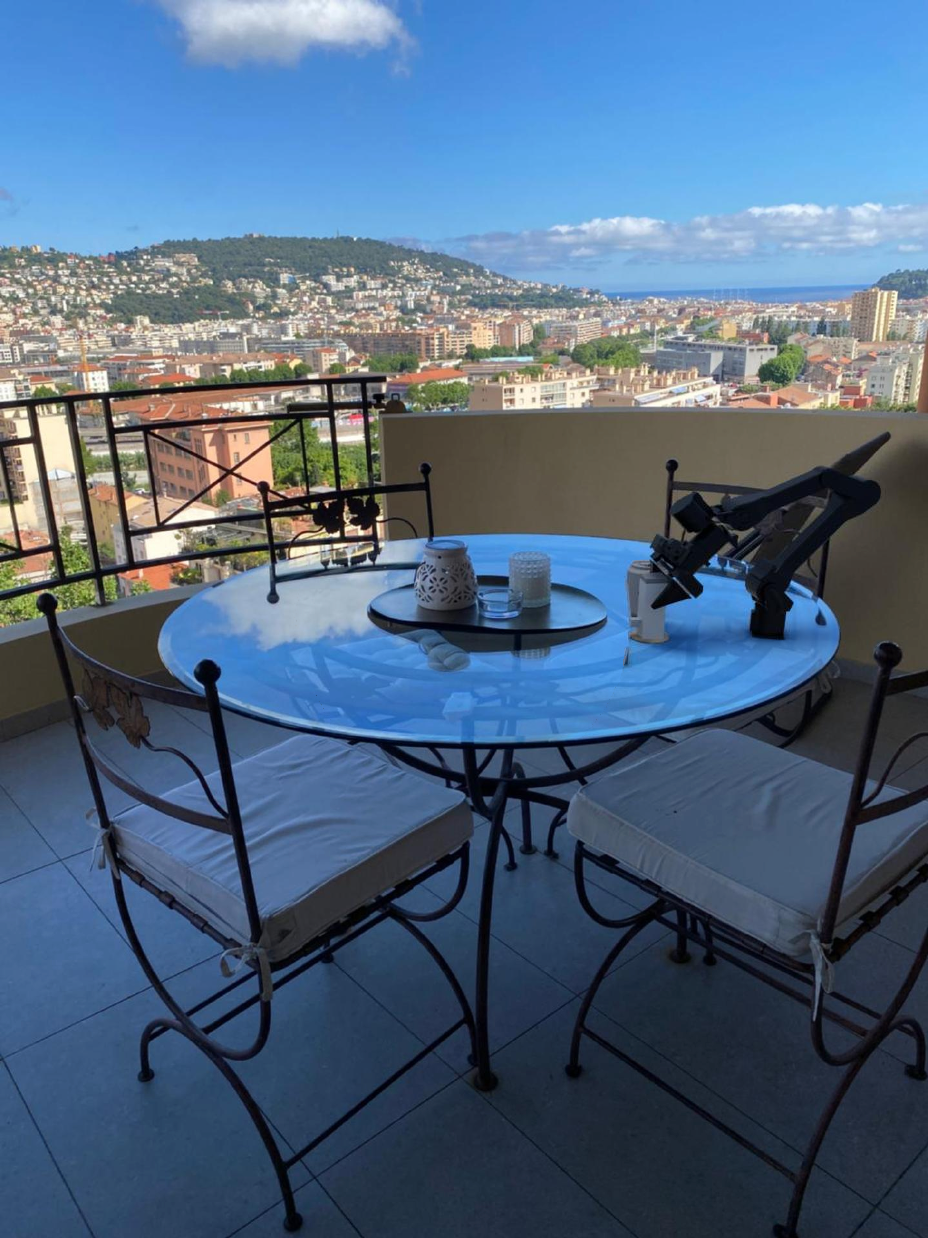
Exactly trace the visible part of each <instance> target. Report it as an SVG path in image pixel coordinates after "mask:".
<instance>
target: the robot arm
mask: <svg viewBox="0 0 928 1238" xmlns="http://www.w3.org/2000/svg"><path fill="white" fill-rule="evenodd" d="M824 489H827V490H829V491H832V494H831V496H830V499H829V501H828V503H827V506H826V507H825V508H824V510H823V511H821V513H820V514H819V515H817V516H816V518H814V520H813V521H812V522H811V523H810V524H808V526H807V527H806V528H804V529H803V530H802V531H801V533H799V535H797V536H796V537H795V538H794V539H793V541H791V543H789V544H788V545H787V546H786V547H785V548H784V549H783V550H782V551H781V552H780V554H778V555H777V556H776V557H774V558H772V559H770V560H768V559H767V558H765V557H761V558H759V559H758V561H757V563H756V564H755V565H754V566H753V567H751V568H750V569H748V570H747V572H748V574H747V575H746V577H745V579H744V587H745V590H746V591H747V593H748V594H750V596H751V600H752V601H753V602H754V606H753V607H754V608H752V609H751V610H750V615H749V623H748V624H749V625H748V628H749V629H748V630H749V632H750V633H751V636H752V637H754V638H755V637H756V638H765V639H766V638H767V639H778V640H784V639H785V638H786V636H785V627H786V621H787V619H786V618H787V612H791V609H792V608H793V606H794V603H795V602H794V601H793V600H792V598H790V596H789V595H788V594H787V593H786V591H787V590H788V589H789V587H790V585H791V582H792V580H793V578H794V574H795V573H796V572H797V571H798V570H799V569H800V567H801V566H803V565H804V564H805V563H806V562H807V561H808V560H809V559H810V558H811V557H812V556H813V555H814V554H815V553H816V552H817V551H818V550H819V549H820V548H821V547H822V546H823V545H824V544H825V543H826V542H827V541H828V540H829V539H830V538H831V537H832V536H833V535H834V534H835V533H836V532H837V531H838V530H840V528H842V527H843V525H844V524H845V523H846V522H849V521H850V520H853V519H856V518H858V517H860V516H862V515H864V514H865V513H867V511H869V510H870V509H872V508H873V507H875V506H876V505H877V504H878V503H879V501H881V498H882V495H881V494H882V489H881V486H880V484H879V483H878V482H877V481H876V480H872V479H869V478H865V477H862V476H858V475H856V474H855V475H847V474H844V473H842V472H839V471H836V470H835V469H834V468H832V467H830V466H829V467H828V466H824V465H818V466H817V465H816V466H815V467H814V468H813V469H811V470H809V471H806V472H804V473H803V474H800V475H797V476H795V477H793V478H790V479H789V480H786V481H784V482H782V483H780V484H776V485H775V486H772V487H770V488H768V489H766V490H764V491H761V492H757V493H751V494H742V495H739V496H736V497H735V496H734V497H732V498H727V500H725V501H723V503H721V504H715V505H709V504H708V503H707V502H706V501H705V500H704V498H703V496H702V495H701V494H700V492H698V491H697V490H693V491H692V492H691V493H690V494H689V493H688V494H687V495H684V496H682V497H681V498H680V499H677V500H676V501H675V502H674V503H673V505H671V507H670V509H669V516H671V517H672V518H673V519H674V520H675V521H676V522H677V523H678V525H680V527H681V528H683V530H684V531H685V532H686V533H687V534H693V533H694V534H695V535H694V536H693V537H692V538H691V539H689V540H687V539H685V540H682V541H680V540H678V539H676V538H674V537H671V538H668V537H665V536H663V535H661V534H659V533H656V534H655V536H654V537H653V540H652V542H651V543H650V545H649V549H653V552H652V553H651V554H650V555H649V557H650V558H651V559H649V561H650V572H649V573H662V574H663V575H664V576H666V577H667V578H668V584H667V586H666V588H665V589H664V590H663V591H662V592H661V593H660V595H659V596H658V597H657V598H656V599H655V600H654V602H653V603H652V604H651V608H652V609H654V610H655V609H658V608H661V607H664V606H666V607H667V606H669V605H672V604H675V603H678V602H683V601H685V600H686V601H687V600H692V598H695V599H698V598H699V597H700V596H701V595H702V594H703V593H704V585H703V584H702V583H701V582H700V580H699V579H698V578H696V577H695V576H694V575H696V573H698V572H699V571H700V570H701V569H702V568H703V567H704V566H705V567H706V568H709V566H711V565H712V563H711V562H710V560H712V559H713V558H714V557H715V556H716V555H717V554H718V553H719V552H720V551H721V550H723V549H724V548H725V547H726V546H727V544H728V545H729V546H730V547H732V548H733V549H739V534H736V533H735V532H730V531H729V529H728V528H726V526H727V527H730V529H733V530H735V531H738V532H746V531H749V530H750V529H752V528H754V527H755V526H757V525H758V524H760V523H761V522H762V521H764V520H765V519H766V518H767V517H768V515H769V514H771V513H773V512H774V511H777V510H779V509H781V508H784V507H786V506H788V505H791V504H794V503H796V502H798V501H800V500H802V499H805V498H807V497H809V496H810V495H811V496H812V495H813V494H816V493H818V492H820V491H824ZM713 519H714V520H716V521H718V522H720V523H721V524H716V522H715V521H714V520H713ZM725 525H726V526H725ZM674 578H675V579H674ZM638 594H639V591H638ZM691 596H692V597H691Z"/></svg>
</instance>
